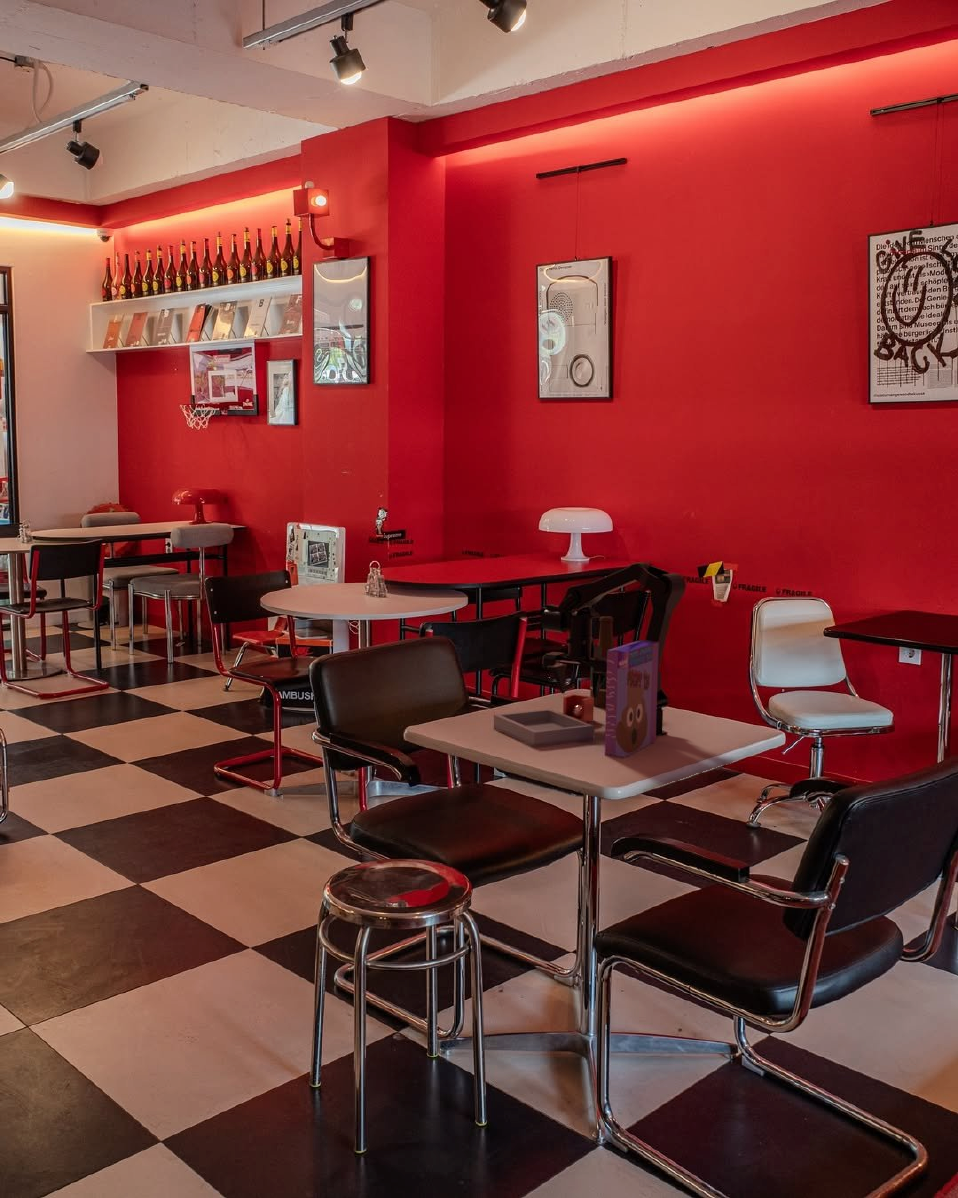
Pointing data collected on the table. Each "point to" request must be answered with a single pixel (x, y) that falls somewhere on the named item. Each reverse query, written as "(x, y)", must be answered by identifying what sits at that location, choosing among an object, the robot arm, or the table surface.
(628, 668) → the cereal box
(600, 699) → the beer bottle
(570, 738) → the slate tray
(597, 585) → the robot arm
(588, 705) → the red arch stool
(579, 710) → the steel ball
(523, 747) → the table surface
